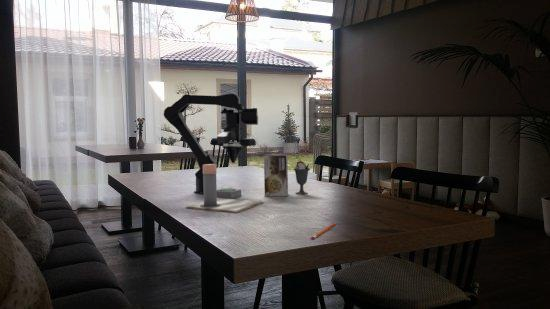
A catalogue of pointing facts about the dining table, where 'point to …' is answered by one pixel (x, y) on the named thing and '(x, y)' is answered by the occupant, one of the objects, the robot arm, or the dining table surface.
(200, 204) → the board
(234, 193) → the button collar
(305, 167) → the sundae
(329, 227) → the pencil
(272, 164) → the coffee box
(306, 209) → the dining table surface
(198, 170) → the robot arm
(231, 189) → the button
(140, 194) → the dining table surface
